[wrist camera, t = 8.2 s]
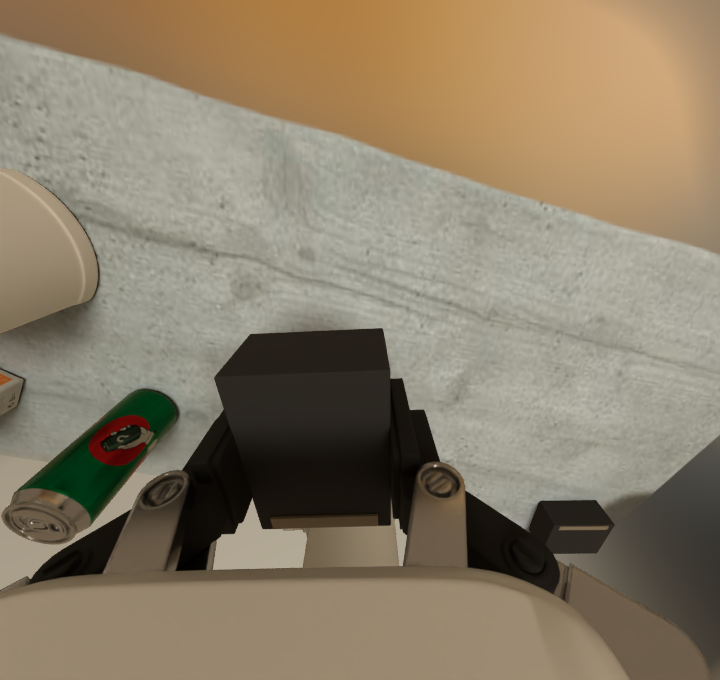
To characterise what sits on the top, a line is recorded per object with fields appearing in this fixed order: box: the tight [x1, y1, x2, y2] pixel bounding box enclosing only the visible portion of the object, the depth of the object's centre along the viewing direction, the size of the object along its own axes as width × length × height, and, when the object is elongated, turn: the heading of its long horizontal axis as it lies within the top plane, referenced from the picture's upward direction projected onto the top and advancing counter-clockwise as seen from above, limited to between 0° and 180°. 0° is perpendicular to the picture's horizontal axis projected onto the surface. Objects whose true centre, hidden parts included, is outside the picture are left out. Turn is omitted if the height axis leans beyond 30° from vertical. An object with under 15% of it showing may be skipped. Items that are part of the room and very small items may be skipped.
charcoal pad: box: [529, 501, 614, 554], centre depth 36 cm, size 7×6×3 cm
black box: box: [214, 328, 391, 529], centre depth 11 cm, size 5×7×3 cm
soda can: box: [1, 390, 177, 544], centre depth 24 cm, size 5×5×12 cm
